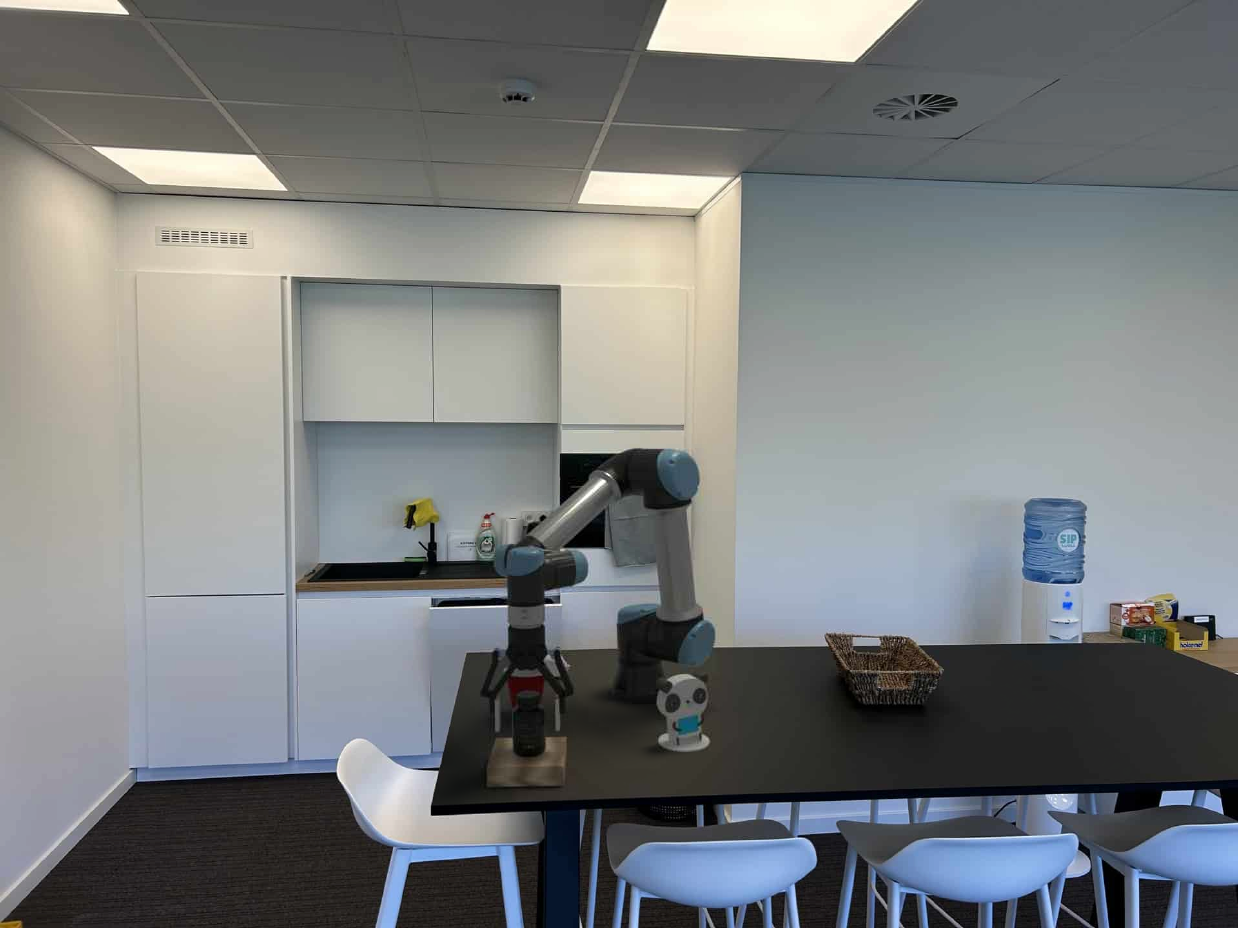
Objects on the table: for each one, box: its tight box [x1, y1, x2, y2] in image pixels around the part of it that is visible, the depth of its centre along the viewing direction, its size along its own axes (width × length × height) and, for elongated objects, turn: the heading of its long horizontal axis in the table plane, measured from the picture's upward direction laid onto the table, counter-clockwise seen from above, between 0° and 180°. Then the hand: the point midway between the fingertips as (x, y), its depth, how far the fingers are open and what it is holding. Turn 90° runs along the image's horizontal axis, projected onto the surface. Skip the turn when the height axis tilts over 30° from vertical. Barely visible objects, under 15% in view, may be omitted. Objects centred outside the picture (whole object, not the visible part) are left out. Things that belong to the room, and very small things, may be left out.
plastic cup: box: [503, 666, 546, 710], centre depth 209 cm, size 11×11×12 cm
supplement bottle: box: [511, 691, 547, 757], centre depth 178 cm, size 7×7×12 cm
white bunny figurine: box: [543, 654, 571, 678], centre depth 241 cm, size 9×8×15 cm
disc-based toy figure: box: [655, 670, 711, 753], centre depth 193 cm, size 12×11×15 cm
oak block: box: [486, 736, 568, 788], centre depth 179 cm, size 15×15×4 cm
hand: (527, 728), depth 178 cm, fingers open, 11 cm apart
